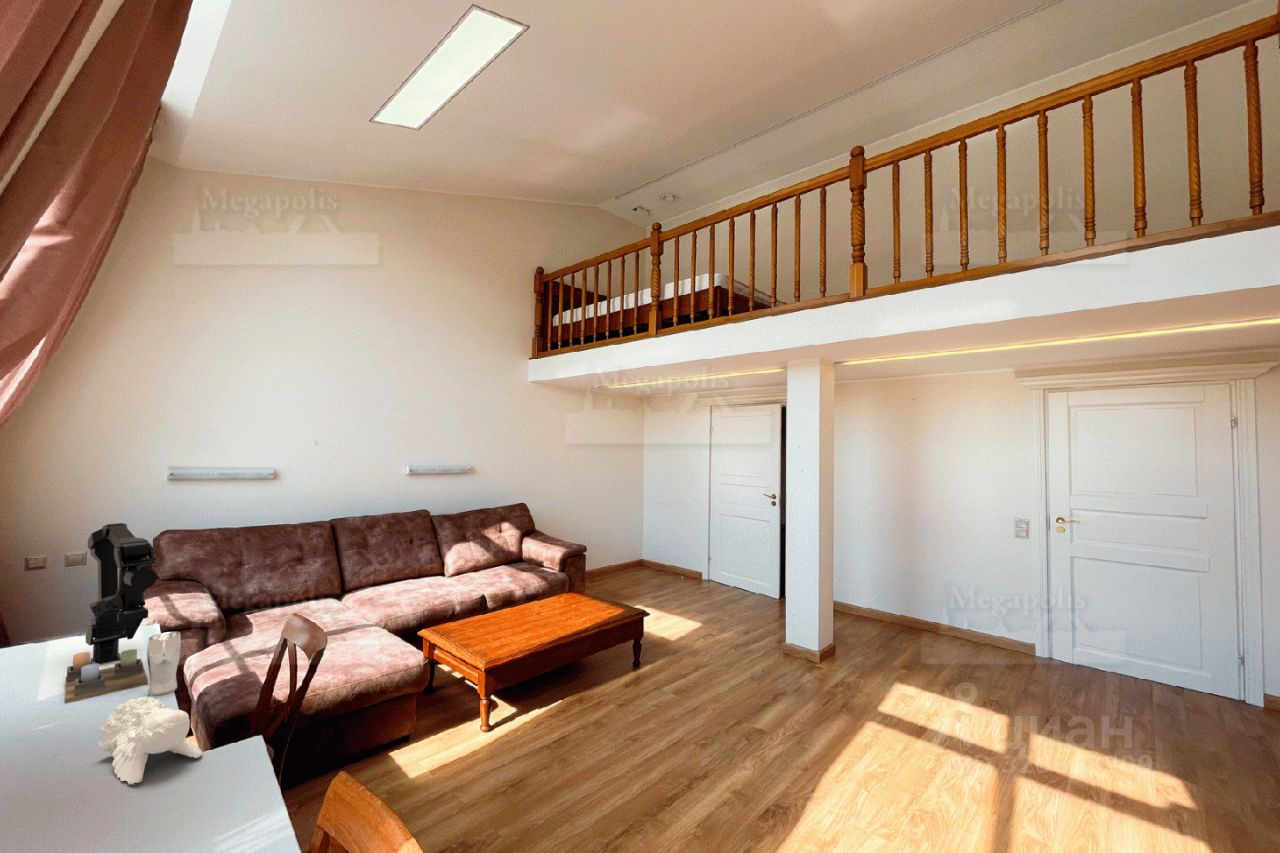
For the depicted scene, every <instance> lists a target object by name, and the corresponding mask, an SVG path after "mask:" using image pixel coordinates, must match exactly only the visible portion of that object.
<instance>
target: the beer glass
mask: <svg viewBox="0 0 1280 853" xmlns="http://www.w3.org/2000/svg"><path fill="white" fill-rule="evenodd" d="M181 645H182V640H181V632H180V631H166V632H162V633H156V634H154V635H151V636H149V637H148V644H147V650H146V656H147V657H146V661H147V667H148V672H149V677H150V682H149V687H148V691H147V695H148V696H151V697H159V696H163V695H167V694H170V693H172V692H174V691H176V690H177V689H178V682H177V672H178V671H177V670H178V665H179V663H180V662H179V661H180V658H181V652H182V651H181V650H182V646H181ZM171 680H172V682H171ZM173 689H174V691H173Z"/></svg>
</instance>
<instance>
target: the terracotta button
mask: <svg viewBox="0 0 1280 853" xmlns="http://www.w3.org/2000/svg"><path fill="white" fill-rule="evenodd" d="M90 662H91V652H89V651H85V652H80V653H75V654H73V655H72V666H73V671H74V670H79V669H81V668H82V667H83V666H85V665H89V664H90Z"/></svg>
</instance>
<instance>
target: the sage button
mask: <svg viewBox="0 0 1280 853" xmlns="http://www.w3.org/2000/svg"><path fill="white" fill-rule="evenodd" d="M120 658H121V659H120V663H121V667H126V666H131V665H136V664H137V659H138V649H127V650H123V651H121V652H120Z"/></svg>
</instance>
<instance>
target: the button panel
mask: <svg viewBox="0 0 1280 853" xmlns="http://www.w3.org/2000/svg"><path fill="white" fill-rule="evenodd" d="M90 664H95V661H94V662H91V661H90ZM148 681H149V679H148V677H147V673H146V670H145V667H144V663H143V661H142V658H137V664H136V665H131V666H126V667H121V662H117V663H114V666H111V667H106V668H101V669H99V680H94V681H90V682H85V683H81V669H79V670H74V671H73V665H69V666H67V668H66V676H65V688H64V692H65V693H64V694H65V695H64V704H69V703H72V702H77V701H81V700H85V699H90V698H95V697H98V696H99V697H100V696H103V695H107V694H113V693H116V692H120V691H123V690H128V689H132V688H133V689H134V688H137V687H142V686H146V685H148V684H149V682H148ZM102 694H103V695H102ZM94 696H95V697H94Z"/></svg>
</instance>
